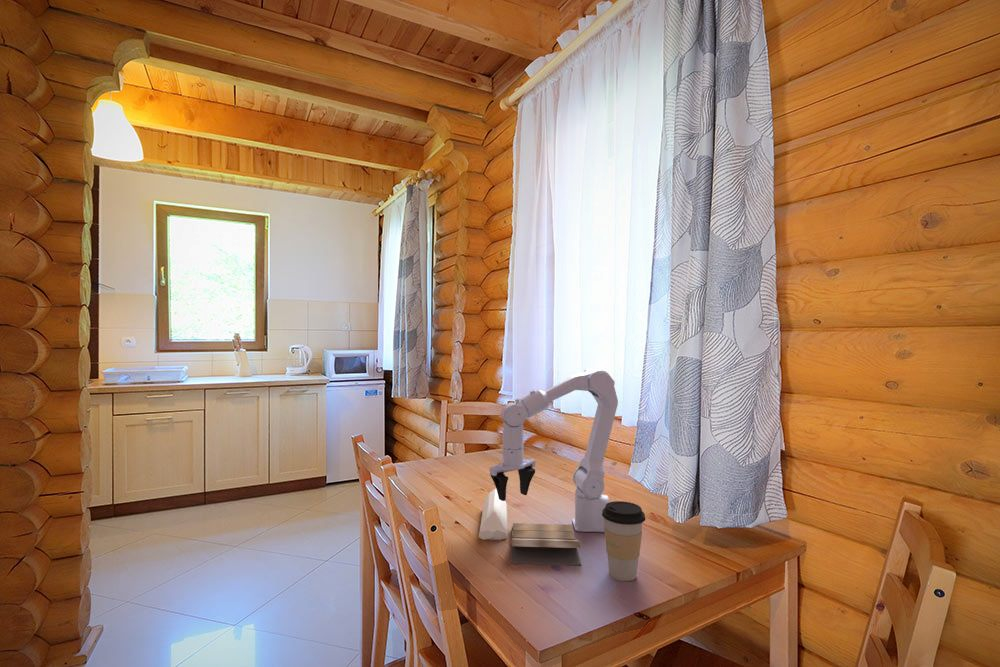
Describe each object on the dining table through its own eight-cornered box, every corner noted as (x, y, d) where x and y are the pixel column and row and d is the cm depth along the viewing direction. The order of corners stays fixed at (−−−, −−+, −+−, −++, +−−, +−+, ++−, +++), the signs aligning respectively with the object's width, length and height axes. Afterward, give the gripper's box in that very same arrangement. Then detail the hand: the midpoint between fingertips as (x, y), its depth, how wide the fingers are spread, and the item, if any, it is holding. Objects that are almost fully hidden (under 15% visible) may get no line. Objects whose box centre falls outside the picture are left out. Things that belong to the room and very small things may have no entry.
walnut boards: (571, 530, 126) (571, 524, 126) (575, 544, 117) (575, 539, 117) (512, 528, 127) (513, 523, 127) (512, 543, 118) (512, 537, 118)
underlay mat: (571, 528, 128) (571, 527, 128) (581, 565, 107) (581, 564, 107) (512, 526, 129) (512, 525, 129) (510, 563, 108) (510, 562, 108)
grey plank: (575, 546, 116) (575, 539, 117) (580, 548, 108) (580, 541, 109) (512, 544, 117) (512, 538, 118) (511, 546, 109) (512, 539, 109)
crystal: (514, 529, 119) (513, 496, 143) (490, 514, 119) (493, 484, 143) (499, 553, 119) (501, 517, 143) (475, 539, 119) (481, 505, 143)
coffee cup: (593, 574, 104) (593, 506, 104) (615, 560, 110) (616, 496, 110) (631, 590, 97) (631, 518, 97) (652, 574, 103) (653, 507, 104)
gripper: (524, 441, 135) (524, 487, 135) (483, 448, 126) (483, 498, 126) (540, 445, 129) (540, 494, 129) (498, 453, 120) (498, 505, 120)
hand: (513, 496), depth 127 cm, fingers open, 7 cm apart
